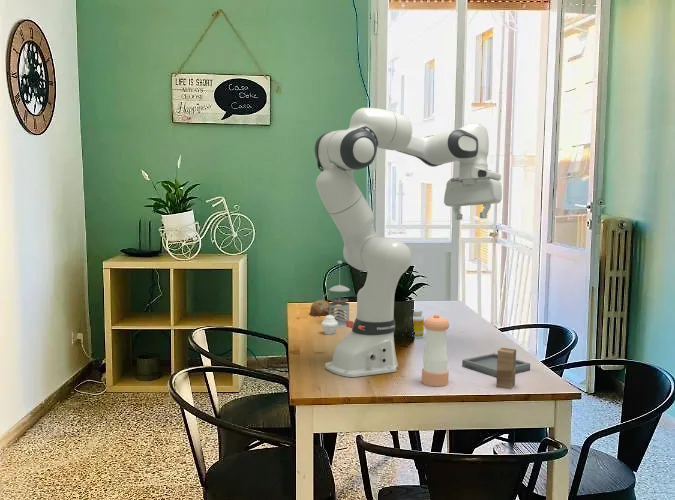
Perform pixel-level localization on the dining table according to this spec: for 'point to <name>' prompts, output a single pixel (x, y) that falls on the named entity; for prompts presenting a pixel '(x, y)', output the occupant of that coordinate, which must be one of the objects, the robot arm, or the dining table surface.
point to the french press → (339, 301)
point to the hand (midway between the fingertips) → (470, 219)
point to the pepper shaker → (435, 352)
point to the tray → (491, 364)
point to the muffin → (329, 324)
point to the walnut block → (506, 368)
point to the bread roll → (319, 308)
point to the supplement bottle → (418, 323)
